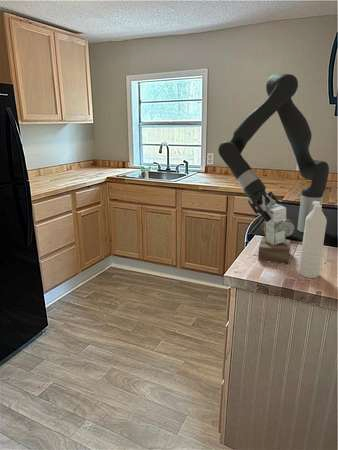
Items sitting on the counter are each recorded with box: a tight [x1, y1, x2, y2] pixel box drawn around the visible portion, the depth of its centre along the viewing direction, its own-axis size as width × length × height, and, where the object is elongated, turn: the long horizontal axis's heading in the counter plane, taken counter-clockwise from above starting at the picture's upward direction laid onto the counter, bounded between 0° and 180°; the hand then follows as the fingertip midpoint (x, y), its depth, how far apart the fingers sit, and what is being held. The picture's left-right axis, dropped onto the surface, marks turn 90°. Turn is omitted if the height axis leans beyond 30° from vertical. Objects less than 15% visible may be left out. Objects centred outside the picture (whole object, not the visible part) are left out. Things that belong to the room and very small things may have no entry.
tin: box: [260, 218, 297, 238], centre depth 147 cm, size 15×3×8 cm, turn 84°
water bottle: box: [298, 201, 328, 279], centre depth 111 cm, size 9×6×25 cm
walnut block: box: [257, 236, 291, 265], centre depth 127 cm, size 11×11×6 cm
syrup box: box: [263, 204, 287, 246], centre depth 124 cm, size 6×6×14 cm
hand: (275, 218), depth 122 cm, fingers open, 8 cm apart
